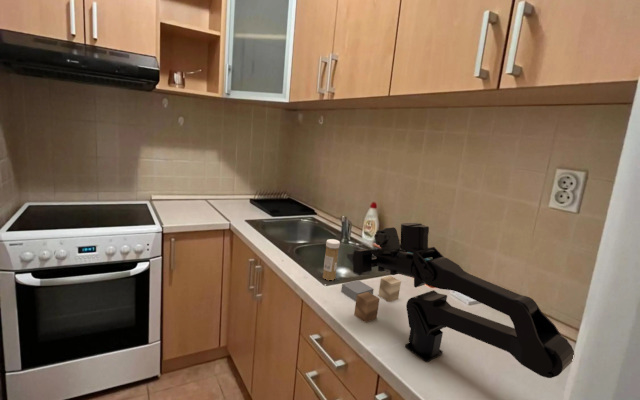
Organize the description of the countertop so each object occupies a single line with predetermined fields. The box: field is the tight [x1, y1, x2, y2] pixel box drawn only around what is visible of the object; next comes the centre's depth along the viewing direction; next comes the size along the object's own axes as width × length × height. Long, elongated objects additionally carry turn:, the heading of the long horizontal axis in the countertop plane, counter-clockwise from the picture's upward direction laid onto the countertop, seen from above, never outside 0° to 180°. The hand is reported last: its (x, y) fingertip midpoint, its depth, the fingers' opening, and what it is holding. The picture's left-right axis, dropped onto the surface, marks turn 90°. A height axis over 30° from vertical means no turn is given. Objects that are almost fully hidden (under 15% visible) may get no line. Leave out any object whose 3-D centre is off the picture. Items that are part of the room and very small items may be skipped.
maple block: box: [377, 275, 402, 303], centre depth 108 cm, size 4×4×6 cm
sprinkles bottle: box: [322, 238, 341, 281], centre depth 116 cm, size 5×5×13 cm
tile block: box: [340, 279, 374, 302], centre depth 108 cm, size 7×7×3 cm
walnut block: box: [354, 292, 380, 323], centre depth 95 cm, size 4×4×6 cm
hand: (359, 253), depth 99 cm, fingers open, 9 cm apart
